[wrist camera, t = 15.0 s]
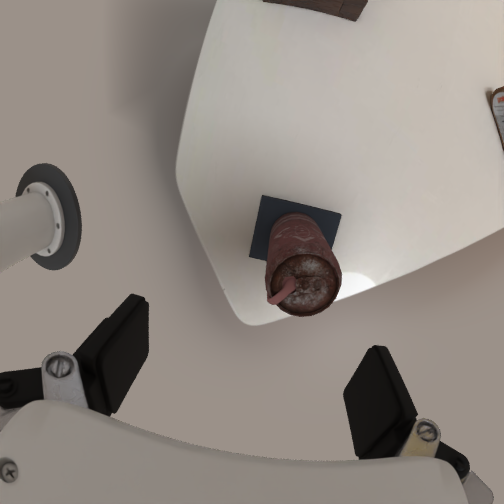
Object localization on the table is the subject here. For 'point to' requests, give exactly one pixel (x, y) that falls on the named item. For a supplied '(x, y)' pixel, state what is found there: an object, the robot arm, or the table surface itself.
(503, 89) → the tin
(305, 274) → the can
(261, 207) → the mat
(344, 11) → the holder
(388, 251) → the table surface
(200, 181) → the table surface
